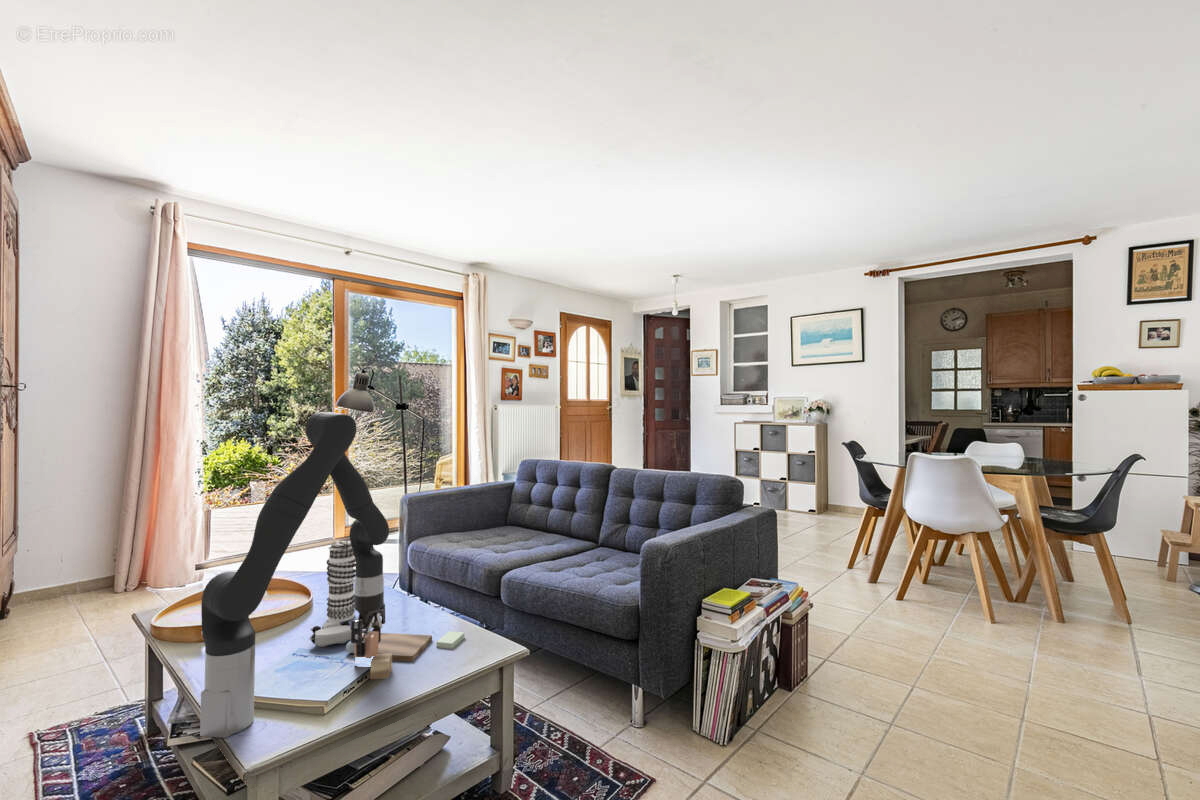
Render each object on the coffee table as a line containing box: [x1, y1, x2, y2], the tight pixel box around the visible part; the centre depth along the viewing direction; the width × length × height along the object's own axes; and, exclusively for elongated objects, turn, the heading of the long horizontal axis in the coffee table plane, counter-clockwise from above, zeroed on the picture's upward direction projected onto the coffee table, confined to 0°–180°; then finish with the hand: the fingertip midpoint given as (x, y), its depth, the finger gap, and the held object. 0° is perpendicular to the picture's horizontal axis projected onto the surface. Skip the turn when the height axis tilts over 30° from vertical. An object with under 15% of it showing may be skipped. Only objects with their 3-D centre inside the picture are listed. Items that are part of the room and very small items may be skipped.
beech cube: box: [369, 654, 393, 680], centre depth 146 cm, size 4×4×4 cm
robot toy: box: [309, 620, 352, 648], centre depth 167 cm, size 12×4×15 cm
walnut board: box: [378, 632, 433, 662], centre depth 161 cm, size 14×16×2 cm
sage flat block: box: [436, 630, 465, 650], centre depth 167 cm, size 8×5×2 cm, turn 168°
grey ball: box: [345, 640, 355, 654], centre depth 158 cm, size 4×4×4 cm
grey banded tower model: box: [326, 540, 356, 623], centre depth 185 cm, size 9×9×25 cm
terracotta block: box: [353, 630, 379, 658], centre depth 152 cm, size 4×4×8 cm
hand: (368, 649), depth 153 cm, fingers open, 8 cm apart
